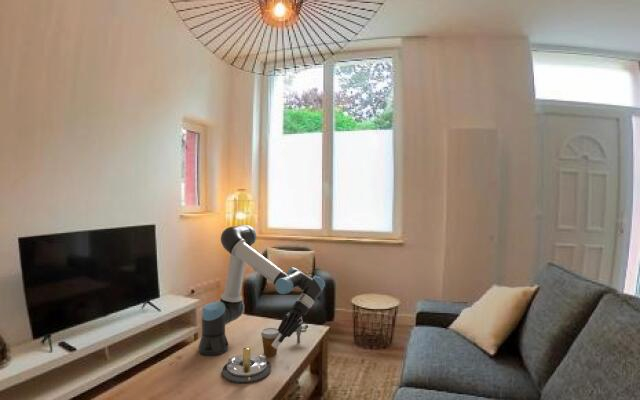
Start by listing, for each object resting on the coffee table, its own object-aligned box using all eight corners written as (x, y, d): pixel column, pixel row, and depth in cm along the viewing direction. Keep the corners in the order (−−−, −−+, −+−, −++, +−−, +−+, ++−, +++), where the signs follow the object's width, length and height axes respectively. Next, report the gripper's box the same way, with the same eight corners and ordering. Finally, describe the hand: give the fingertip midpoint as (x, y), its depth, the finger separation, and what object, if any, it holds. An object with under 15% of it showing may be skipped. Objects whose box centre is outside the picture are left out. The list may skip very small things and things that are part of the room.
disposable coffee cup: (283, 354, 192) (283, 331, 191) (268, 360, 185) (269, 336, 184) (271, 348, 198) (271, 326, 198) (257, 354, 191) (257, 331, 191)
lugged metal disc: (228, 359, 181) (228, 335, 181) (266, 357, 184) (266, 333, 184) (225, 378, 163) (225, 351, 163) (267, 375, 166) (267, 349, 166)
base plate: (214, 369, 175) (214, 365, 175) (255, 356, 189) (255, 352, 189) (236, 389, 158) (236, 384, 158) (280, 372, 172) (280, 368, 172)
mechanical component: (307, 343, 205) (307, 325, 205) (288, 343, 205) (289, 325, 205) (307, 341, 208) (308, 323, 207) (289, 341, 208) (289, 323, 208)
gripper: (315, 312, 181) (286, 356, 171) (299, 305, 191) (270, 346, 181) (307, 303, 177) (277, 347, 167) (291, 297, 187) (261, 338, 177)
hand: (273, 347), depth 174 cm, fingers closed
